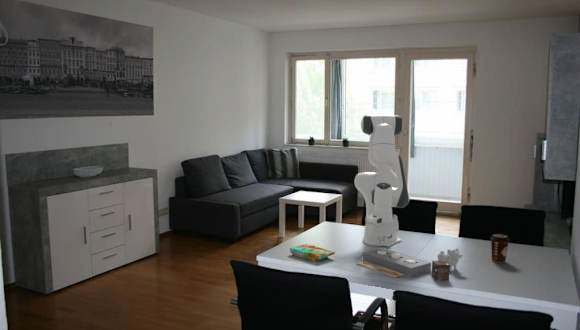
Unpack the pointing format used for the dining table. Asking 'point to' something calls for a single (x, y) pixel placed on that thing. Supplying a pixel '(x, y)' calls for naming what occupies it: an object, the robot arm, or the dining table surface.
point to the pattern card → (380, 269)
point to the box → (440, 270)
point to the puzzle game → (311, 252)
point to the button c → (410, 261)
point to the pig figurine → (450, 257)
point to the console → (397, 262)
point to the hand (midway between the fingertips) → (382, 244)
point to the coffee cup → (499, 247)
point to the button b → (395, 255)
